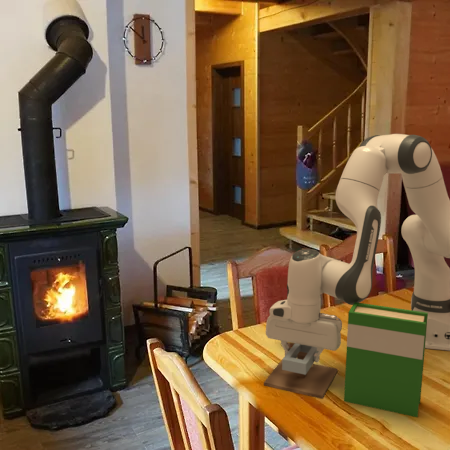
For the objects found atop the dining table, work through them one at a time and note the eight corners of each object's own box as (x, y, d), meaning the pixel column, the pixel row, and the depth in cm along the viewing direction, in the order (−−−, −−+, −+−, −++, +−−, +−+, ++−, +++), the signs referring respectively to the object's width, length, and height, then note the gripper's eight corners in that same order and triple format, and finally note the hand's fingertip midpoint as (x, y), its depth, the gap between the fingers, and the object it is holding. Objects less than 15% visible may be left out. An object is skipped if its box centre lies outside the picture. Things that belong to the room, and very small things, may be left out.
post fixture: (337, 371, 153) (338, 347, 151) (322, 398, 139) (323, 372, 137) (283, 360, 159) (284, 337, 158) (263, 385, 145) (264, 360, 144)
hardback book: (420, 402, 137) (427, 312, 132) (417, 417, 130) (425, 323, 125) (350, 387, 144) (354, 302, 139) (343, 401, 137) (348, 312, 132)
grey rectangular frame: (298, 348, 155) (298, 338, 155) (320, 352, 153) (320, 342, 152) (282, 369, 143) (282, 359, 142) (305, 374, 140) (306, 364, 140)
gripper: (345, 312, 143) (342, 360, 146) (272, 300, 152) (271, 346, 155) (339, 321, 138) (336, 371, 141) (263, 308, 146) (263, 355, 149)
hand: (301, 358), depth 148 cm, fingers closed on grey rectangular frame, 6 cm apart
